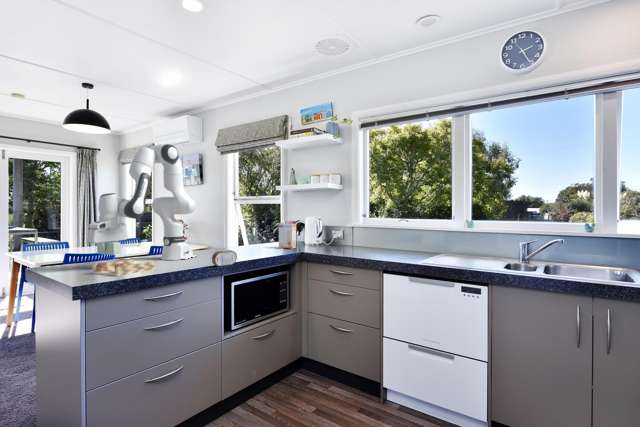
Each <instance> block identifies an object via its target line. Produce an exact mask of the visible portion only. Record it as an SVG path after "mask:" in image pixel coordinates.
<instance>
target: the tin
mask: <svg viewBox="0 0 640 427" xmlns="http://www.w3.org/2000/svg"><path fill="white" fill-rule="evenodd" d="M237 258H238V256H237V252H235V251H234V250H231V249H227V250H217V251H215V252H214V253H213V254H212V256H211V262H212V264H213V265H214V266H215V267H224V266H225V267H226V266H232V265H235V263H236V262H237Z"/></svg>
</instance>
